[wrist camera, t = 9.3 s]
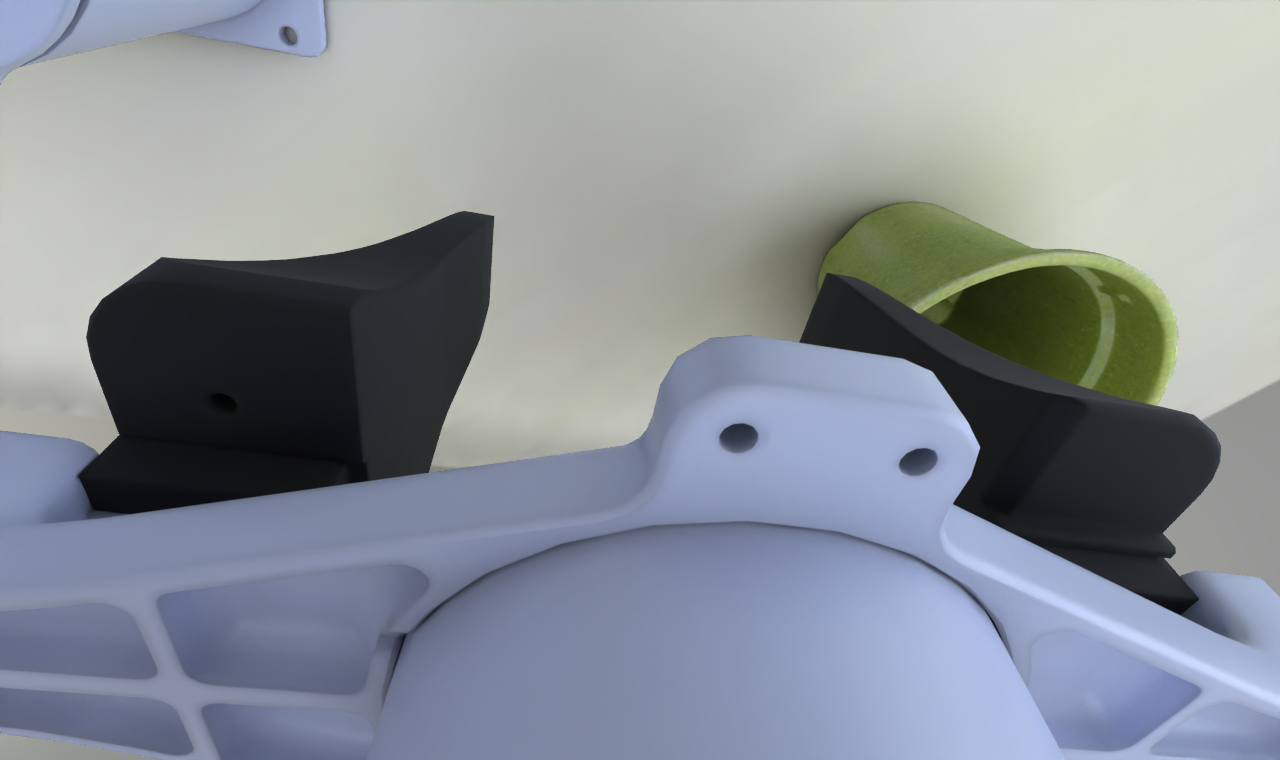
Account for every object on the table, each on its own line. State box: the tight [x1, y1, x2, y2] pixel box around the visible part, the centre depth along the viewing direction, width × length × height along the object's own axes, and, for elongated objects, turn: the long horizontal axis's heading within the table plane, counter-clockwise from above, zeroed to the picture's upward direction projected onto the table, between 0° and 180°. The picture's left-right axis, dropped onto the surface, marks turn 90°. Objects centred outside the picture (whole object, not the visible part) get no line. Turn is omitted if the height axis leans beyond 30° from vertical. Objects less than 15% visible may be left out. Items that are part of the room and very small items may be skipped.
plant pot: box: [817, 202, 1178, 406], centre depth 22 cm, size 9×9×9 cm
